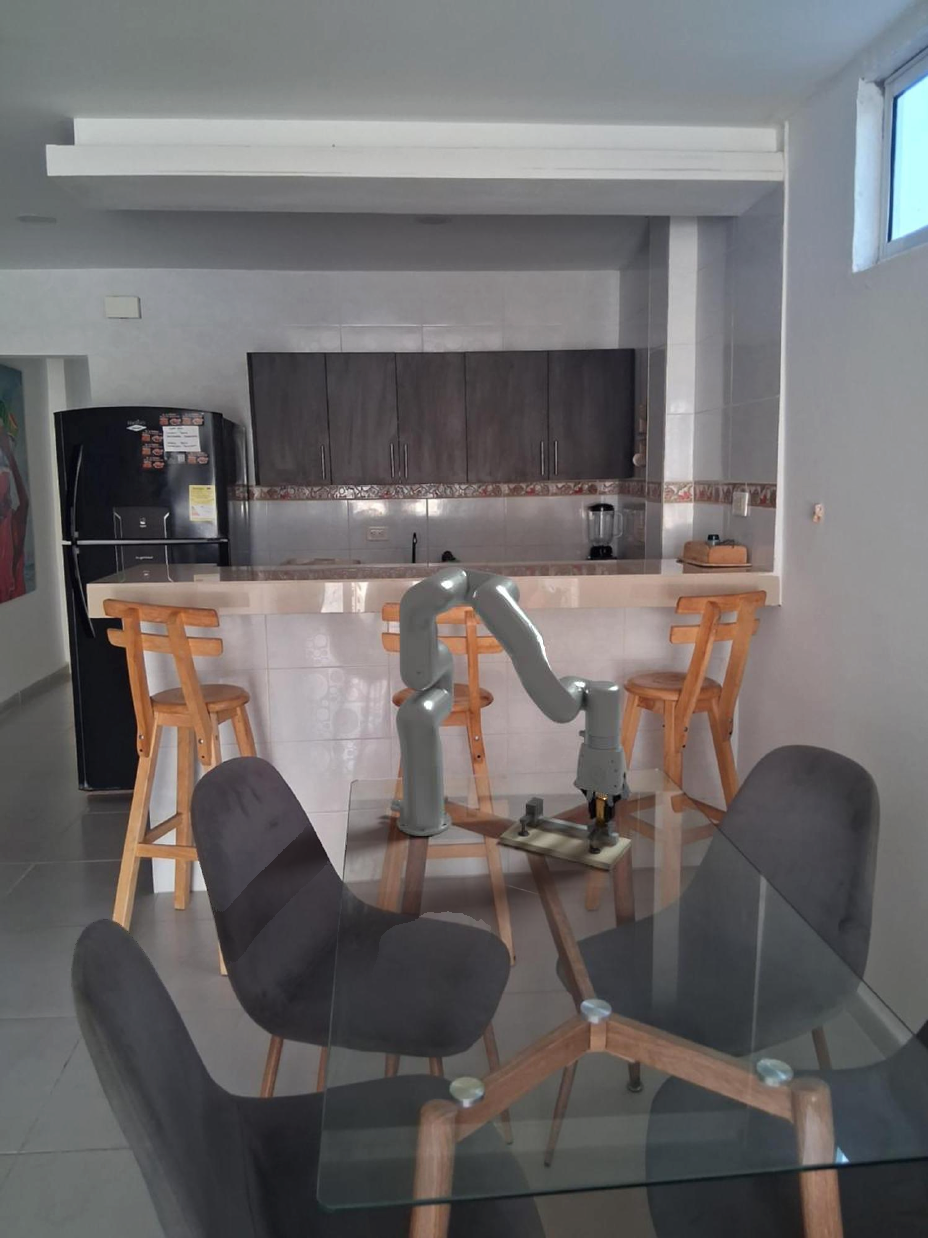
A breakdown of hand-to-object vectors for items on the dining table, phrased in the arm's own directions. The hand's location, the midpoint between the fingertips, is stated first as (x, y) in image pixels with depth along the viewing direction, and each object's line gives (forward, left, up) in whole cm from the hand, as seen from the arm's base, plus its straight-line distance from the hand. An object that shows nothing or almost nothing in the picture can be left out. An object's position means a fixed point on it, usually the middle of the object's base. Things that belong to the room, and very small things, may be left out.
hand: (601, 817), depth 206 cm
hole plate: (-7, -3, -7) cm, 10 cm away
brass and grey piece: (0, -2, -5) cm, 5 cm away
